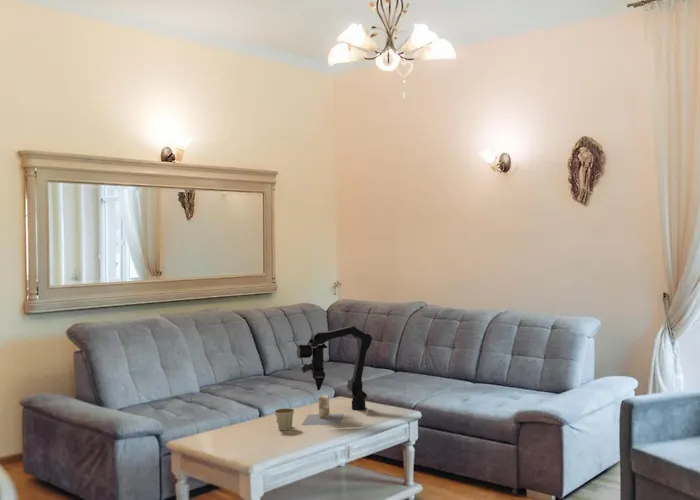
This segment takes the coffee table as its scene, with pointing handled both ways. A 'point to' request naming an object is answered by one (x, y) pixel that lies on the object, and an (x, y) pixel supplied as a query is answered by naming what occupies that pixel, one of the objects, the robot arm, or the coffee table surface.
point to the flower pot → (284, 418)
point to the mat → (323, 420)
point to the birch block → (324, 406)
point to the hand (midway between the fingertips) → (318, 388)
